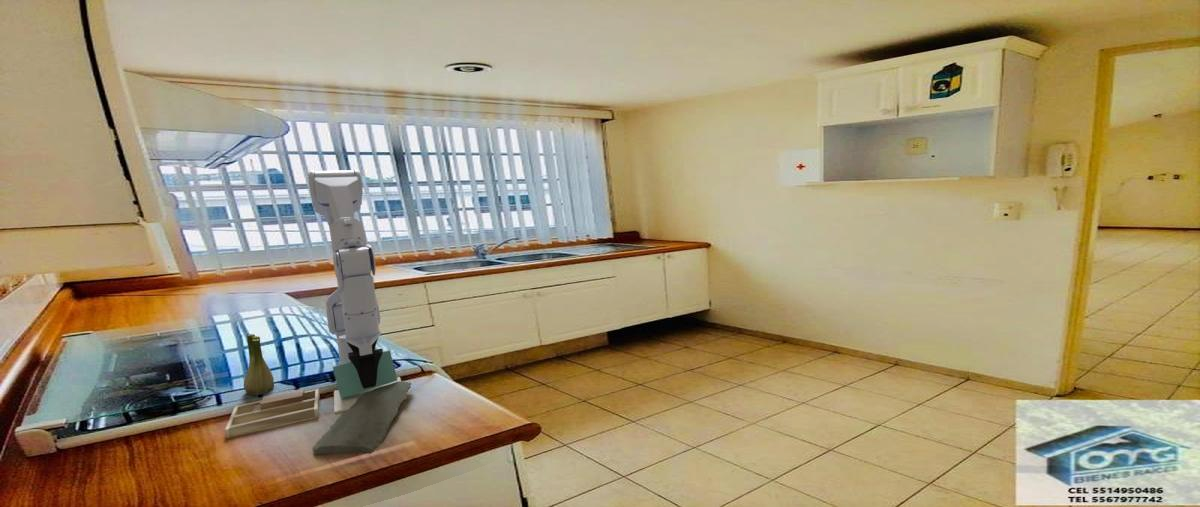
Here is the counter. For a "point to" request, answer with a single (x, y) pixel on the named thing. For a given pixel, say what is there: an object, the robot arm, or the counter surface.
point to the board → (351, 381)
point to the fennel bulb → (257, 369)
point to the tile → (351, 399)
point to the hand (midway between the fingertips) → (368, 379)
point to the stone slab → (364, 421)
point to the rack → (271, 415)
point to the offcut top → (282, 399)
